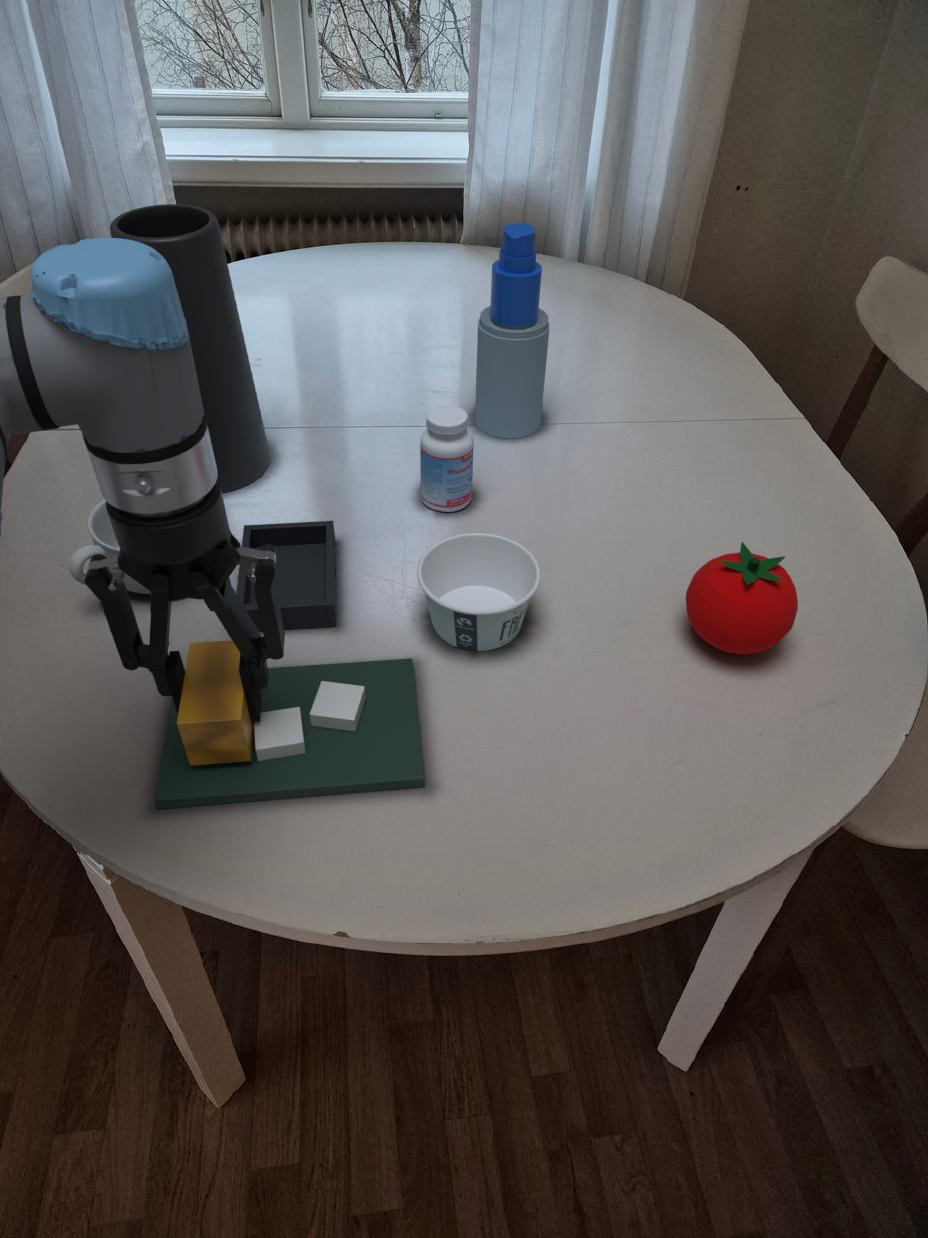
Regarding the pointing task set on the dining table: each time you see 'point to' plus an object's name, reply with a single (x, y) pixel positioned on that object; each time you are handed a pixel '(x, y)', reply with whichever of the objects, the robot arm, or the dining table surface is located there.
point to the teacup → (101, 547)
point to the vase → (208, 332)
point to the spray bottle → (512, 341)
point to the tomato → (742, 602)
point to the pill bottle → (446, 459)
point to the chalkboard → (311, 743)
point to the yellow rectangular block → (214, 706)
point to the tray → (296, 573)
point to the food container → (478, 589)
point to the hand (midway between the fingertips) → (222, 712)
